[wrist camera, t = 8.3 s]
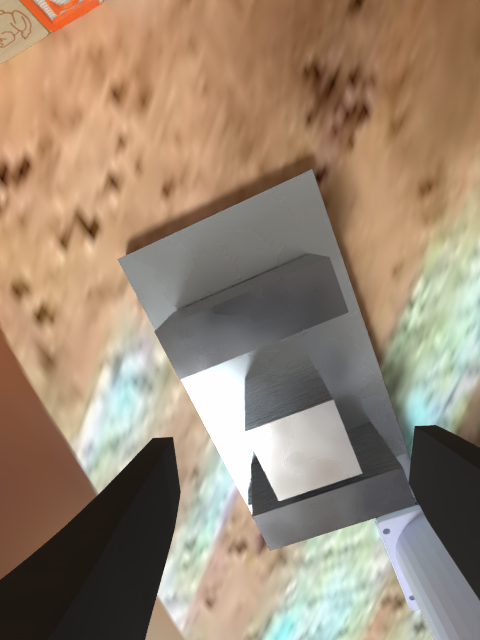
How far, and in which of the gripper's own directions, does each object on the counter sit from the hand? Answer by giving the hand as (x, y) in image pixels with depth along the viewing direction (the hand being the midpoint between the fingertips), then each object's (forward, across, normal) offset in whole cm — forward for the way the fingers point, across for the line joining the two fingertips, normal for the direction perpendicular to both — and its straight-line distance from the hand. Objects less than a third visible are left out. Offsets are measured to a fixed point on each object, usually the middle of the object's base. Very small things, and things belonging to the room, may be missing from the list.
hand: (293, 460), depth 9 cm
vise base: (+10, -1, +2) cm, 10 cm away
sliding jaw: (+8, +1, -3) cm, 9 cm away
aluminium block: (+8, -1, +3) cm, 9 cm away
